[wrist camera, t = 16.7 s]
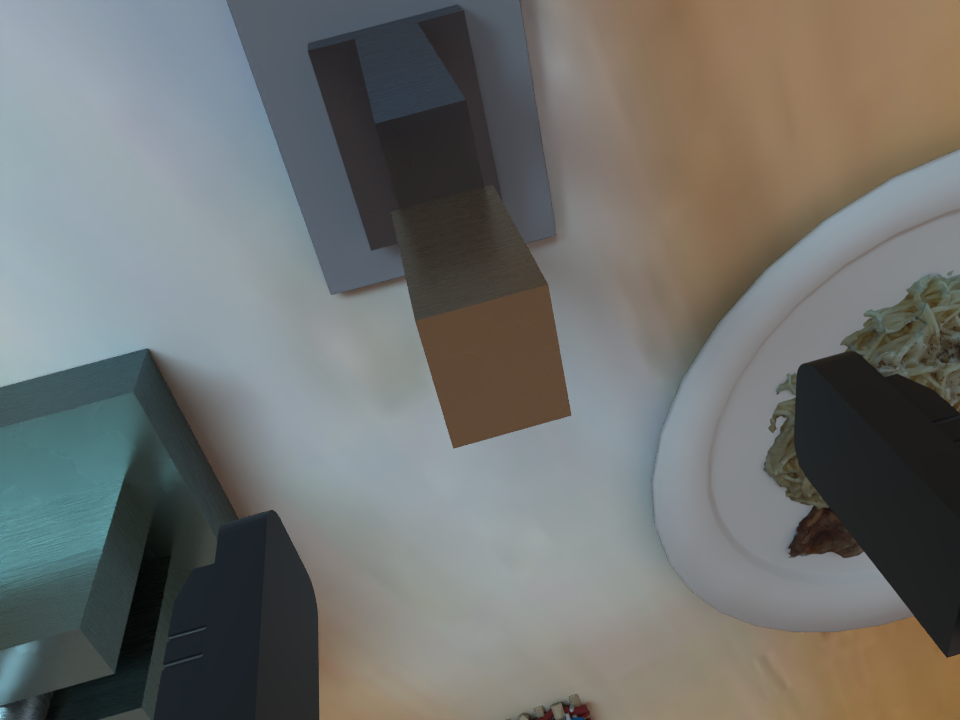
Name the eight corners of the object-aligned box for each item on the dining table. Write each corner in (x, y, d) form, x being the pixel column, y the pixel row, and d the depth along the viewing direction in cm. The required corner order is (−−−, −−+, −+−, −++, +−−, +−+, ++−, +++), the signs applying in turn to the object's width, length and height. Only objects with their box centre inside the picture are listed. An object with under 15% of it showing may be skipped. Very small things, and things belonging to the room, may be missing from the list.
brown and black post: (307, 43, 25) (304, 237, 12) (458, 4, 25) (606, 156, 13) (368, 237, 29) (414, 536, 16) (498, 202, 29) (643, 470, 17)
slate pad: (223, -15, 24) (222, -12, 24) (502, -84, 25) (506, -83, 24) (330, 287, 31) (330, 295, 30) (552, 229, 31) (556, 235, 30)
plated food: (546, 336, 34) (567, 379, 31) (1227, -25, 31) (1318, -12, 28) (731, 672, 51) (755, 719, 48) (1186, 462, 47) (1241, 500, 44)
